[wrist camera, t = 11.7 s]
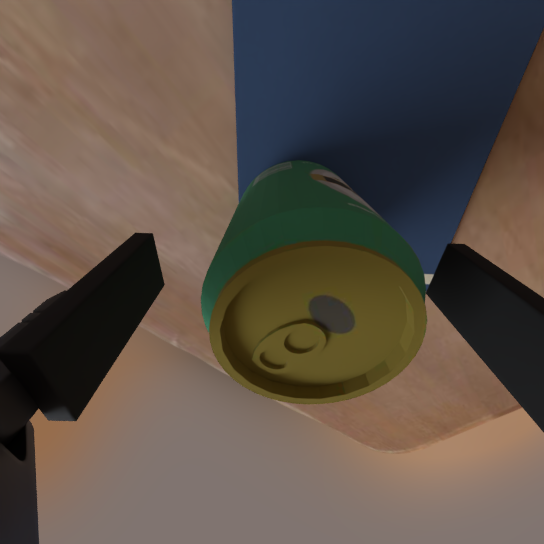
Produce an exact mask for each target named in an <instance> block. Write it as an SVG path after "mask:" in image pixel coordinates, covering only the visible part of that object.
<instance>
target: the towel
mask: <svg viewBox="0 0 544 544" xmlns="http://www.w3.org/2000/svg"><path fill="white" fill-rule="evenodd" d="M232 12H233V41H234V71H235V100H236V130H237V159H238V189H239V202H240V200H241V198H242V196H243V194H244V192H245V190H246V189H247V187H248V186H249V185H250V183H251V182H252V181H253V180H254V179H255V178H256V177H257V176H258V175H259V174H260V173H262V172H263V171H265V170H266V169H268V168H269V167H272V166H274V165H276V164H279V163H283V162H287V161H296V160H301V161H310V162H314V163H317V164H320V165H322V166H324V167H326V168H328V169H330V170H331V171H333V172H334V173H335V174H337V175H338V176H339V177H340V178H341V179H342V180H343V181H344V182H345V183H346V184H347V185H348V186H349V187H350V188H351V189H352V190H353V191H354V192H355V193H357V194H358V195H359V196H360V197H361V198H362V199H363V200H364V201H365V202H366V203H367V204H368V205H369V206H370V207H371V208H372V209H373V210H374V211H375V212H377V213H378V214H379V215H380V216H381V217H382V218H383V219H384V220H385V221H386V222H387V223H388V224H389V225H390V226H391V227H392V228H393V229H394V230H395V231H397V232H398V233H399V234H400V235H401V236H402V238H403V239H404V240H405V241H406V242H407V243H408V244H409V245H410V246H411V247H412V249H413V251H414V252H415V254H416V255H417V257H418V259H419V261H420V264H421V266H422V269H423V272H424V277H425V285H426V291H427V289H428V287H429V285H430V282H431V280H432V278H433V276H434V273H435V271H436V269H437V266H438V264H439V262H440V259H441V257H442V255H443V253H444V250H445V248H446V246H447V243H448V244H451V241H452V239H453V237H454V234H455V232H456V230H457V227H458V225H459V223H460V221H461V218H462V216H463V214H464V211H465V209H466V207H467V204H468V202H469V200H470V197H471V195H472V193H473V190H474V188H475V186H476V183H477V181H478V179H479V177H480V174H481V172H482V170H483V167H484V165H485V163H486V160H487V158H488V156H489V153H490V151H491V149H492V146H493V144H494V142H495V139H496V137H497V135H498V132H499V130H500V128H501V126H502V123H503V121H504V119H505V116H506V114H507V112H508V109H509V107H510V105H511V102H512V100H513V98H514V95H515V93H516V91H517V88H518V86H519V84H520V82H521V79H522V77H523V75H524V72H525V70H526V68H527V65H528V63H529V61H530V58H531V56H532V54H533V51H534V49H535V47H536V44H537V42H538V40H539V37H540V35H541V33H542V31H543V28H544V0H232Z"/></svg>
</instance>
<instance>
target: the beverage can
mask: <svg viewBox="0 0 544 544" xmlns="http://www.w3.org/2000/svg"><path fill="white" fill-rule="evenodd" d="M425 294H426V285H425V277H424V272H423V269H422V266H421V264H420V261H419V259H418V257H417V255H416V254H415V252H414V251H413V249H412V247H411V246H410V245H409V244H408V243H407V242H406V241H405V240H404V239H403V238H402V236H401V235H400V234H399V233H398V232H397V231H395V230H394V229H393V228H392V227H391V226H390V225H389V224H388V223H387V222H386V221H385V220H384V219H383V218H382V217H381V216H380V215H379V214H378V213H377V212H375V211H374V210H373V209H372V208H371V207H370V206H369V205H368V204H367V203H366V202H365V201H364V200H363V199H362V198H361V197H360V196H359V195H358V194H357V193H355V192H354V191H353V190H352V189H351V188H350V187H349V186H348V185H347V184H346V183H345V182H344V181H343V180H342V179H341V178H340V177H339V176H338V175H337V174H335V173H334V172H333V171H331V170H330V169H328V168H326V167H324V166H322V165H320V164H317V163H314V162H310V161H301V160H296V161H287V162H283V163H279V164H276V165H274V166H272V167H269V168H268V169H266V170H265V171H263V172H262V173H260V174H259V175H258V176H257V177H256V178H255V179H254V180H253V181H252V182H251V183H250V185H249V186H248V187H247V189H246V190H245V192H244V194H243V196H242V198H241V200H240V202H239V204H238V207H237V209H236V211H235V213H234V215H233V217H232V220H231V222H230V224H229V226H228V228H227V230H226V232H225V235H224V237H223V239H222V241H221V243H220V245H219V247H218V250H217V252H216V254H215V256H214V258H213V260H212V262H211V265H210V267H209V269H208V271H207V274H206V277H205V280H204V283H203V287H202V295H201V306H202V315H203V318H204V322H205V325H206V328H207V330H208V332H209V335H210V343H211V346H212V350H213V353H214V355H215V356H216V358H217V360H218V362H219V364H220V365H221V366H222V368H223V369H224V370H225V372H226V373H228V374H229V375H230V376H231V377H232V378H233V379H234V380H235V381H237V382H238V383H239V384H241V385H242V386H244V387H245V388H247V389H249V390H251V391H253V392H255V393H257V394H259V395H262V396H265V397H267V398H271V399H274V400H278V401H282V402H288V403H295V404H325V403H334V402H339V401H344V400H348V399H352V398H355V397H358V396H361V395H364V394H366V393H368V392H371V391H373V390H375V389H377V388H379V387H381V386H382V385H384V384H386V383H387V382H389V381H390V380H392V379H393V378H394V377H396V376H397V375H398V374H399V373H400V372H401V371H402V370H404V369H405V368H406V367H407V366H408V364H409V363H410V362H411V361H412V359H413V358H414V357H415V356H416V354H417V352H418V350H419V348H420V346H421V345H422V342H423V339H424V336H425V332H426V324H427V315H426V307H425Z"/></svg>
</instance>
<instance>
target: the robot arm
mask: <svg viewBox="0 0 544 544" xmlns="http://www.w3.org/2000/svg"><path fill="white" fill-rule="evenodd" d="M163 286H164V280H163V276H162V272H161V267H160V263H159V259H158V254H157V250H156V246H155V241H154V237H153V233H135V234H133V235H132V236H131V237H130V238H129V239H127V240H126V241H125V242H124V243H123V244H122V245H120V246H119V247H118V248H117V249H116V250H115V251H113V252H112V253H111V254H110V255H109V256H107V257H106V258H105V259H104V260H103V261H102V262H100V263H99V264H98V265H97V266H96V267H94V268H93V269H92V270H91V271H90V272H89V273H87V274H86V275H85V276H84V277H83V278H81V279H80V280H79V281H78V282H77V283H76V284H74V285H73V286H72V287H71V288H70V289H69V290H67V291H63V292H61V293H59V294H57V295H55V296H53V297H51V298H49V299H47V300H46V301H45V302H43V303H42V304H41V305H40V306H38V307H37V308H36V309H35V310H34V311H33V313H30V314H29V315H27V316H26V317H25V318H24V319H22V322H21V323H18V324H16V325H15V326H14V327H13V328H11V329H10V330H9V331H8V332H6V333H5V334H4V335H3V336H1V337H0V544H39V535H38V512H37V490H36V468H35V447H34V428H33V426H32V423H31V422H30V421H29V419H30V418H31V417H32V416H33V415H34V414H35V412H36V411H37V410H38V409H40V410H41V412H42V413H43V414H44V415H45V417H46V418H47V419H48V420H52V421H77V419H78V417H79V416H80V415H81V413H82V411H83V410H84V408H85V407H86V405H87V404H88V402H89V401H90V399H91V398H92V396H93V394H94V393H95V391H96V390H97V388H98V387H99V385H100V384H101V382H102V381H103V379H104V378H105V376H106V374H107V373H108V371H109V370H110V368H111V367H112V365H113V363H114V362H115V360H116V359H117V357H118V356H119V354H120V353H121V351H122V350H123V348H124V347H125V345H126V343H127V342H128V340H129V339H130V337H131V336H132V334H133V333H134V331H135V330H136V328H137V327H138V325H139V323H140V322H141V320H142V319H143V317H144V316H145V314H146V313H147V311H148V310H149V308H150V307H151V305H152V303H153V302H154V300H155V299H156V297H157V296H158V294H159V293H160V291H161V290H162V288H163ZM426 294H427V295H428V296H429V298H430V299H431V300H432V301H433V302H434V303H435V305H436V306H437V307H438V308H439V309H440V311H441V312H442V313H443V314H444V315H445V316H446V318H447V319H448V320H449V321H450V322H451V324H452V325H453V326H454V327H455V328H456V329H457V331H458V332H459V333H460V334H461V335H462V337H463V338H464V339H465V340H466V341H467V342H468V344H469V345H470V346H471V347H472V348H473V349H474V351H475V352H476V353H477V354H478V355H479V357H480V358H481V359H482V360H483V361H484V362H485V364H486V365H487V366H488V367H489V368H490V370H491V371H492V372H493V373H494V374H495V375H496V377H497V378H498V379H499V380H500V381H501V383H502V384H503V385H504V386H505V387H506V388H507V390H508V391H509V392H510V393H511V394H512V396H513V397H514V398H515V399H516V400H517V401H518V403H519V404H520V405H521V406H522V407H523V408H524V410H525V411H526V412H527V413H528V414H529V416H530V417H531V418H532V419H533V420H534V421H535V423H536V424H537V425H538V426H539V427H540V429H541V430H542V431H543V432H544V298H543V297H541V296H540V295H538V294H537V293H536V292H534V291H533V290H531V289H530V288H528V287H527V286H525V285H524V284H522V283H521V282H519V281H518V280H516V279H515V278H514V277H512V276H511V275H509V274H508V273H506V272H505V271H503V270H502V269H500V268H499V267H497V266H496V265H494V264H493V263H492V262H490V261H489V260H487V259H486V258H484V257H483V256H481V255H480V254H478V253H477V252H475V251H474V250H472V249H471V248H469V247H468V246H467V245H465V244H448V243H447V246H446V248H445V250H444V253H443V255H442V257H441V259H440V262H439V264H438V266H437V269H436V271H435V273H434V276H433V278H432V280H431V282H430V285H429V287H428V289H427V292H426Z"/></svg>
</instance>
